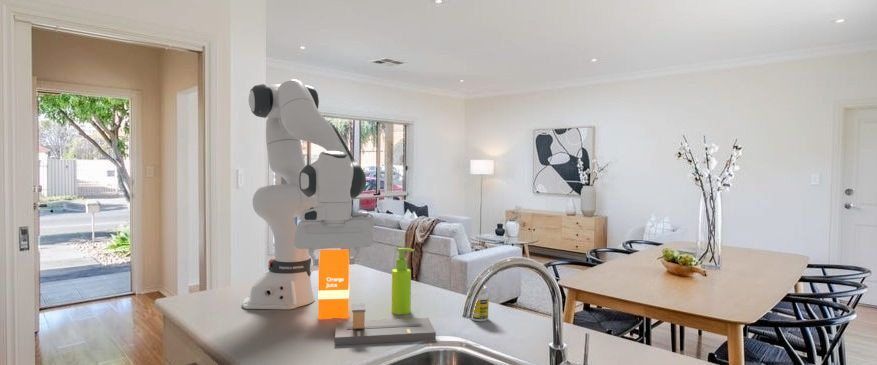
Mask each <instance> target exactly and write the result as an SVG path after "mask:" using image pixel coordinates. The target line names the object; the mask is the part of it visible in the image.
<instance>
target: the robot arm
mask: <svg viewBox="0 0 877 365" xmlns="http://www.w3.org/2000/svg"><path fill="white" fill-rule="evenodd" d="M319 103H320V100H319V94H318V91H317V90H316V88H315V87H313V86H311V85H307V84H305V83H304V82H302V81H300V80H297V79H289V80H285V81H283V82H282V83H276V84H275V83H274V84H264V83H262V84H257V85H254V86H253V87H252V88H251V89H250V91H249V94H248V106H249V108H250V111H251V113H252V114H253V115H254V116H256V117H258V118H264V119H266V118H267V120H266V122H265V123H266V124H265V141H266V148H267V156H268V157H267V158H268V162H269V167H270V169H271V171H272V172H273V173H274V174H276V175H277V176H280V177H281V178H282V179H283V180H284V181H285V182H286V184H285V183H284V184H270V185H266V186H262V187H259V188H257V190H256V191H255V193H254V194H253V195H252V196H253V198H252V207H253V210H254V212H255V213H256V215H257V216H258V217H260V218H261V219H262V220H264V221H265V223H266V224H267V225H268V226H269V228H270V229H271V230H270V231H272V236H273V241H274V257H273V258H270V259H269V260H268V266H267V268H268V271H267V272H266V273H265V274H263V275H262V276H261V277H259V278H258V279H257V280H256V281H254V283H253V284H252V286H251V288H250V292H249V296H247V297H245V298H244V299H243V301H242V303H241V304H242V307H243V309H246V310H293V309H296V308H298V307H303V306H306V305H309V304H312V303H313V302H314V301H315V300H316V299H315V296H314V293H313V292H314V291H313V287H312V280H311V275H312V266H319V259H320V257H316V255H315V249H345V248H346V249H347V248H348V249H350V248H351V249H352V248H353V251H354V253H353V255H352V256H349V266H350V265H356V258H357V257H358V255H359V254H360V249H361V248H371V246H373V244H374V236H373V230H372V229H373V228H374V226H375V216H373V214H371V213H369V212H366V211H365V212H364V211H363V212H358V211H357V212H352V210H353V209H352V207H353V206H352V199H356V198H357V197H359V196H360V195H361V194H362V192H363V191H364V190H365V188H366V184H367V177H366V174H365V171H364V170H363V168H362V167H361V166H360V164H359V163H358V162H357V161H356V160H355V158H354V156H353V155H352V153H351V152H350V150H349V148H348V146H347V144H346V143H345V141H344V139H343V138H342V136H341V133H340V132H339V131H338V130H337V127H336V126H334V125H333V124H332V123H331V122H329V121H328V120H327V119H326V118H325V117H324V116H323V115H322V113H321V112H320V111H319ZM301 141H304V142H307V143H309V144H310V143H311V144H314V145H317V146H319V147H321V148H323V149H324V150H323V151H321V152H320V153H319V155H318V158H317V160H315V161H314V162H311V163H310V164H306V162H305V158H304V153H303V147H302V142H301ZM295 218H299V219H300V221H299V222H298V224H296V221H295Z"/></svg>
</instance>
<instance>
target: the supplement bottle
mask: <svg viewBox="0 0 877 365" xmlns="http://www.w3.org/2000/svg"><path fill="white" fill-rule="evenodd" d="M483 286H484V288H483V289H482V291H481V293H480V295H479V298H478V301H477V303H476V306H475V310H474V314H473V318H472V319H471V320H472V321H476V322H486V321H487V320H488V319H489V299H490V298H489V297H490V296H489V294H488V293H487V289H488V288H487V286H486V285H483Z"/></svg>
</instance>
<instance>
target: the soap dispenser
mask: <svg viewBox="0 0 877 365" xmlns="http://www.w3.org/2000/svg"><path fill="white" fill-rule="evenodd" d="M396 251H397V252H398V257H397V258H396V259H395V263H396V264H395V268H392V269H391V314H395V315H399V316H400V315H407V314H410V313H411V308H412V307H411V305H412V304H411V303H412V302H411V297H412V296H411V295H412V294H411V292H412V289H411V287H412V269H410V268H408V259H407V258H406V257H405V252H410V253H413V252H414V251H415V249H414V248H411V247H398V248H396Z"/></svg>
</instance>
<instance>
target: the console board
mask: <svg viewBox="0 0 877 365" xmlns="http://www.w3.org/2000/svg"><path fill="white" fill-rule="evenodd" d="M436 334H437V332H436V330H435V328H434V326H433V325H432V322H431V321H430V318H429V317H419V318H418V317H415V318H397V319H396V318H395V319H392V318H391V319H375V320H372V319H371V320H370V319H369V320H365V324H364V328H355V329H353V320H351V321H350V320H349V321H336V322H335V332H334V346H347V345H365V344H382V343H400V342H419V341H421V342H422V341H435V340H436V338H437V337H436V336H437V335H436Z"/></svg>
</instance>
